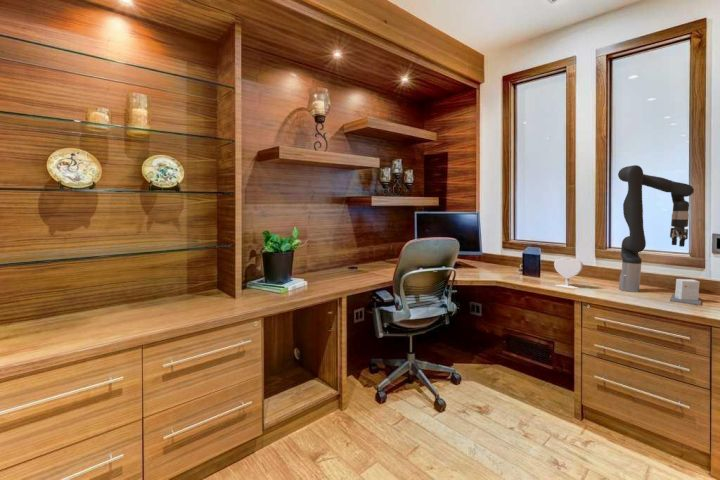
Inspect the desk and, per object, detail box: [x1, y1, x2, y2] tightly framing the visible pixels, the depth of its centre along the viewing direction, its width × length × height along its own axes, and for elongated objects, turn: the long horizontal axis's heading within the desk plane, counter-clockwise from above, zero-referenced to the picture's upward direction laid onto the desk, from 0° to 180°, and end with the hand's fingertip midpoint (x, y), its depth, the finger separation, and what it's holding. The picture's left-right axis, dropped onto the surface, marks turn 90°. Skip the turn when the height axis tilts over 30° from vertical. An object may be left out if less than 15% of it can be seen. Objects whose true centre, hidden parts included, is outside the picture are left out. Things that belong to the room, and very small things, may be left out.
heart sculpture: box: [553, 257, 584, 289], centre depth 226 cm, size 16×5×18 cm, turn 42°
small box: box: [674, 278, 701, 300], centre depth 194 cm, size 8×6×10 cm
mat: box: [669, 293, 702, 306], centre depth 194 cm, size 18×12×1 cm, turn 136°
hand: (677, 245), depth 212 cm, fingers open, 8 cm apart
